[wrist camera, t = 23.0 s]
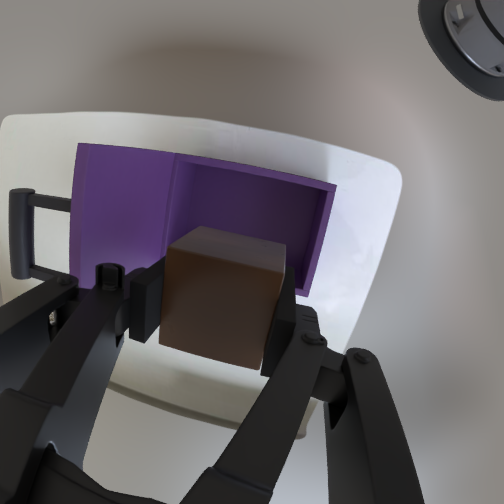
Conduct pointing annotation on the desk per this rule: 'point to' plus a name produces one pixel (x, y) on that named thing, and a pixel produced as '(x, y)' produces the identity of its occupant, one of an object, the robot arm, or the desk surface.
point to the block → (221, 295)
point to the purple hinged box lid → (99, 213)
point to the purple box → (250, 208)
